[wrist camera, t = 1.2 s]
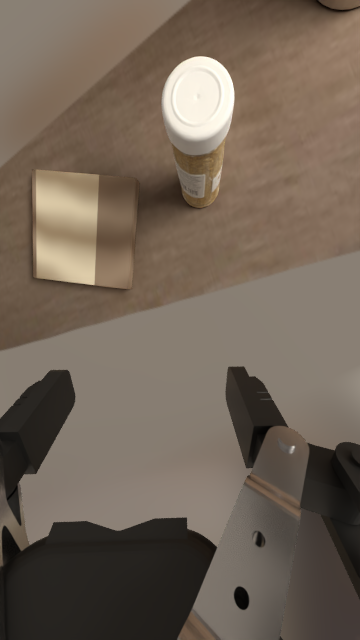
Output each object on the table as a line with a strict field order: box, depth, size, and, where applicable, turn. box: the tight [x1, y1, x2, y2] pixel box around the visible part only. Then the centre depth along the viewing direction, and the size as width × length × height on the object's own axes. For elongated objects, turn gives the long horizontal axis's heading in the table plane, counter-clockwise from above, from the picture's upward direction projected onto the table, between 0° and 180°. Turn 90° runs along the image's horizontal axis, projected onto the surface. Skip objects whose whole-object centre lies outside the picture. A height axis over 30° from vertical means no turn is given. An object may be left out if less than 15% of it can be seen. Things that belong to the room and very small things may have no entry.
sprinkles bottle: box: [161, 56, 234, 208], centre depth 20 cm, size 5×5×13 cm
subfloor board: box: [32, 169, 140, 289], centre depth 28 cm, size 13×13×2 cm
